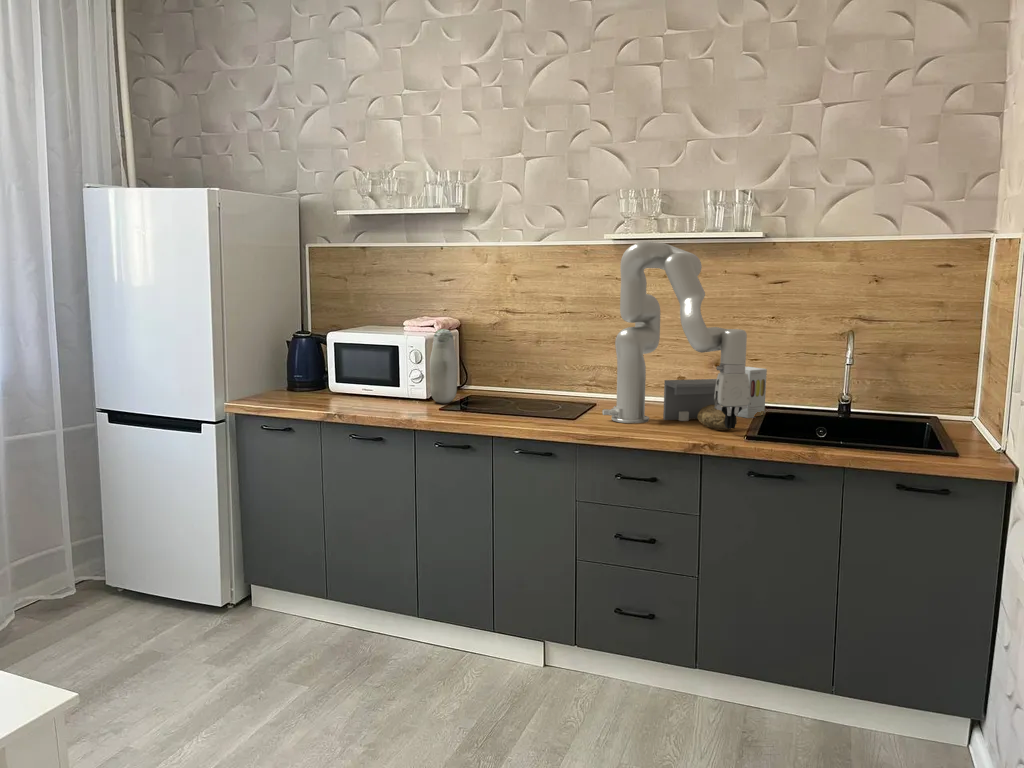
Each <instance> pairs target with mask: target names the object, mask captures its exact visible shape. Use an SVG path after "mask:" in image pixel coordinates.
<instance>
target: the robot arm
mask: <svg viewBox="0 0 1024 768" xmlns="http://www.w3.org/2000/svg"><path fill="white" fill-rule="evenodd" d="M702 265H703V264H702V261H701V259H700V258H699V257H698V256H697V254H694V253H693V252H689V251H687V250H684V249H681V248H679V247H676V246H673V245H671V244H668V243H665V242H656V241H655V242H654V241H641V242H637V243H634V244H631V246H629V247H628V248H626V250H625V251H624V252H623V254H622V257H621V259H620V298H619V299H620V300H619V302H620V303H619V304H620V305H619V314H620V317H621V319H622V320H623V321H624V322H626V323H630V324H633V323H634V326H629V327H626V328H622V330H620V331H619V332H618V333H617V335H616V338H615V342H614V344H615V353H616V362H617V363H616V366H617V367H616V369H617V370H616V371H617V372H616V374H617V375H616V376H617V377H616V405H614V406H613V407H612V408H611V409H608V408H607V409H602V411H601V412H602V415H603V416H611V420H612V421H613V422H617V423H623V424H644V423H647V422H650V421H649V420H650V417H649V416H648V415H646V414H645V411H646V409H645V408H646V407H645V405H646V382H647V381H646V378H647V377H646V376H647V375H646V373H647V370H646V369H647V368H646V367H647V366H646V361H645V357H644V355H645V354H650V353H652V352H654V351H655V350H656V349H657V348H658V347H659V343H660V336H661V305H660V303H659V301H658V299H657V298H656V297H655V296H654V295H652V294H650V293H649V294H648V293H647V287H648V286H647V278H646V277H647V276H646V274H645V270H646V269H661V270H663V271H664V272H665V274H666V277H667V279H668V281H669V284H670V286H671V287H672V290H673V292H674V294H675V296H676V298H677V300H678V303H679V317H680V324H681V327H682V330H683V333H684V335H685V337H686V340H687V342H688V343H689V345H690V346H691V348H692V349H693V350H694V351H696V352H697V353H701V354H703V353H709V352H710V353H711V352H716V351H717V352H718V351H720V363H719V365H716V371H718V373H717V377H716V379H717V380H716V386H715V394H714V402H715V407H714V408H715V409H717V410H721V411H722V412H723V413H724V414H725V426H726V427H727V428H729V429H728V430H732V429H736V426H737V424H736V419H737V417H738V416H737V415H738V413H739V412H740V411H741V410H743V409H747V408H748V406H747V405H749V402H750V388H749V379H748V374H745V367H746V361H747V339H748V338H747V336H748V333H747V331H746V330H744V329H740V328H729V329H728V328H722V327H717V326H712V327H707V325H706V323H705V321H704V318H703V316H702V312H701V311H702V310H701V306H702V302H703V301H704V299H705V297H706V292H705V290H704V287H703V286H702V284H701V282H700V279H699V277H698V276H699V275H700V274H701V273H702ZM735 425H736V426H735Z"/></svg>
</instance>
